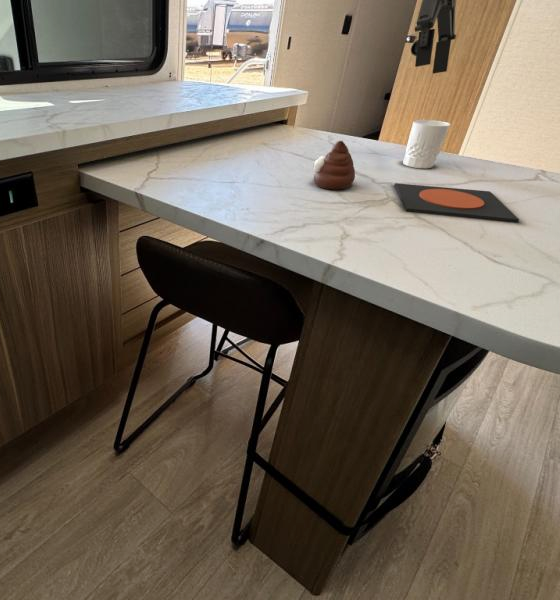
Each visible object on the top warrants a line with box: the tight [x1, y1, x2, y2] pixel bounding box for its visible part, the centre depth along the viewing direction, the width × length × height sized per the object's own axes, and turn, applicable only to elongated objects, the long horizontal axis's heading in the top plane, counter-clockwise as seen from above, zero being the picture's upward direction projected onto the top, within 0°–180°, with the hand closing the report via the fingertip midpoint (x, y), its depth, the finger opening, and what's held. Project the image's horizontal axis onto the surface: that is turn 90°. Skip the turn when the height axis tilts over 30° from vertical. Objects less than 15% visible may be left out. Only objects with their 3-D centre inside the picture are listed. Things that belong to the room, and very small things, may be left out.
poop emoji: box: [312, 140, 356, 191], centre depth 89 cm, size 10×8×9 cm
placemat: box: [393, 182, 520, 223], centre depth 82 cm, size 18×16×1 cm
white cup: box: [402, 119, 452, 169], centre depth 102 cm, size 8×8×10 cm
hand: (431, 69), depth 93 cm, fingers open, 13 cm apart
